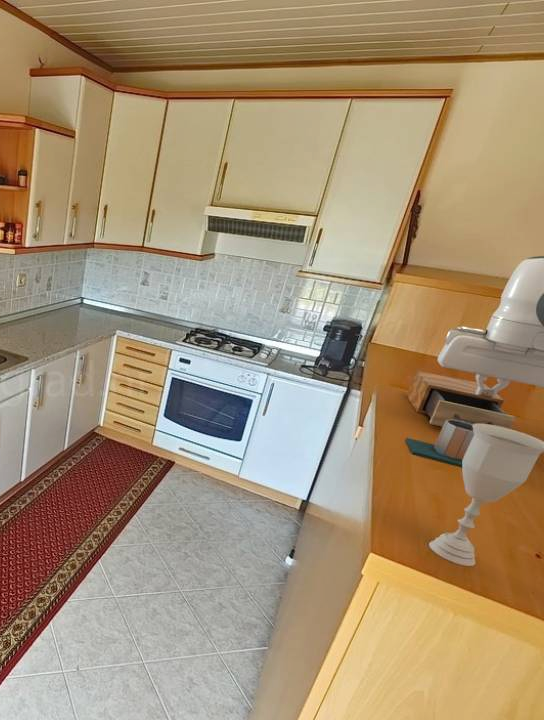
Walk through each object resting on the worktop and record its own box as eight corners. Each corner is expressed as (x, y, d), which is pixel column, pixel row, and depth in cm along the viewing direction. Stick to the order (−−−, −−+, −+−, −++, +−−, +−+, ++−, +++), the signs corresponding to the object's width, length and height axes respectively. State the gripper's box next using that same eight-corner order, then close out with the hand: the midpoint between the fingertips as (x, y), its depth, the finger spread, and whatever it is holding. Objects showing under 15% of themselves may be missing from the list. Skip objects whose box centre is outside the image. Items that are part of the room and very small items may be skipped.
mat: (488, 460, 98) (489, 458, 98) (501, 477, 92) (502, 474, 92) (405, 440, 104) (406, 437, 104) (412, 454, 98) (413, 451, 97)
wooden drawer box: (512, 450, 103) (524, 425, 101) (435, 431, 108) (445, 407, 106) (485, 421, 119) (495, 399, 117) (419, 406, 124) (427, 385, 122)
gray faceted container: (464, 453, 99) (477, 424, 97) (472, 464, 94) (486, 434, 92) (430, 445, 101) (443, 416, 99) (437, 455, 97) (450, 426, 94)
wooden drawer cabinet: (490, 429, 116) (504, 400, 114) (416, 412, 123) (428, 384, 120) (472, 411, 129) (485, 384, 126) (407, 396, 135) (417, 370, 132)
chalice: (420, 553, 66) (476, 434, 60) (417, 530, 71) (468, 418, 65) (490, 579, 62) (557, 455, 56) (481, 552, 68) (542, 436, 62)
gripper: (455, 326, 103) (429, 387, 108) (585, 348, 94) (551, 413, 99) (448, 322, 108) (423, 380, 113) (571, 342, 100) (538, 404, 104)
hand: (484, 396), depth 106 cm, fingers closed
